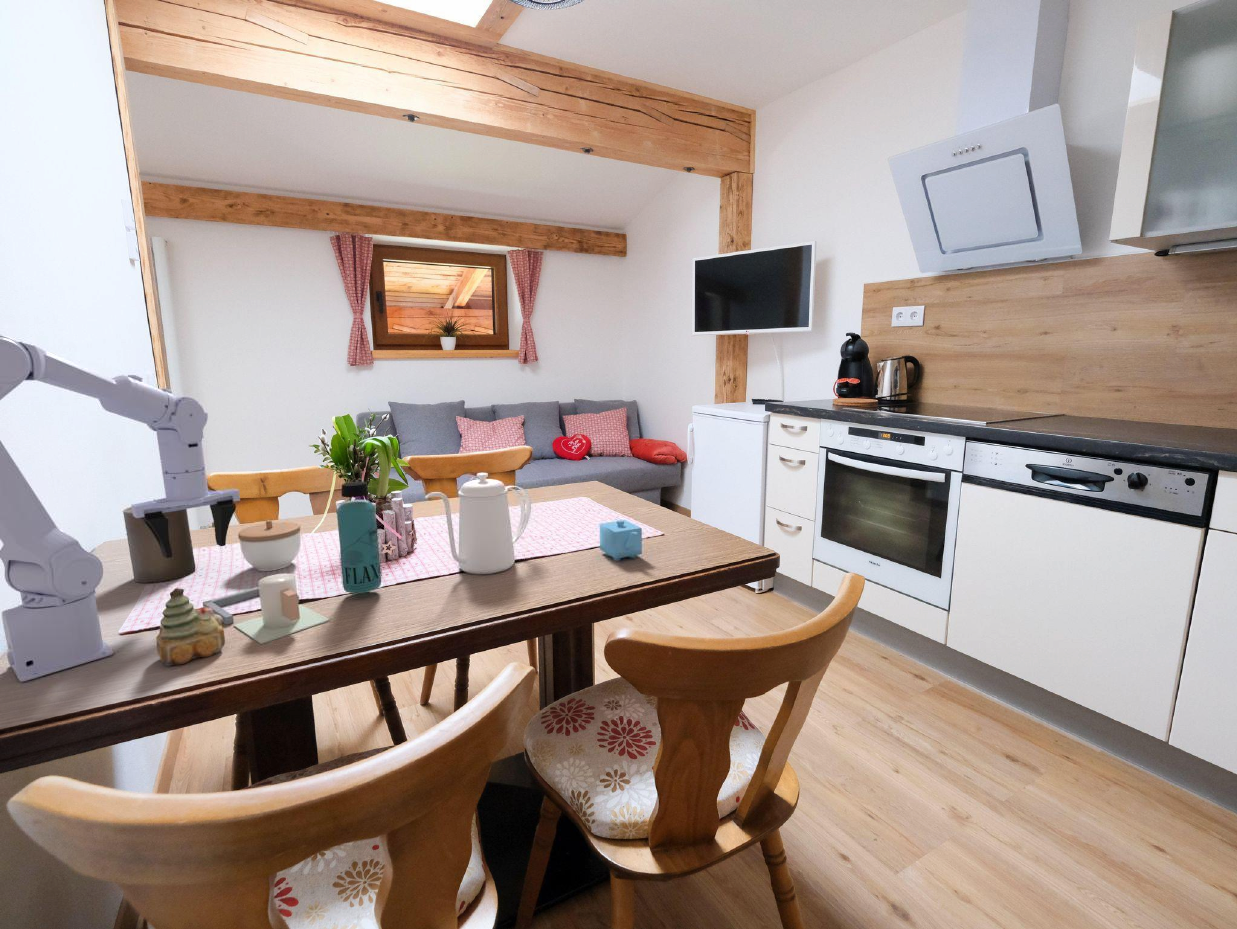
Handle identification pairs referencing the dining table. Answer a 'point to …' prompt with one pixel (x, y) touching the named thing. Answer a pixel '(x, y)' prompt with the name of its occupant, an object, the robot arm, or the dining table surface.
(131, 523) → the pillar candle
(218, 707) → the dining table surface
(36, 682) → the dining table surface
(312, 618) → the pad
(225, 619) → the cradle
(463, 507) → the coffeepot
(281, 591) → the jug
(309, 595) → the dining table surface
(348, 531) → the beverage bottle
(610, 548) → the teapot
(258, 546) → the lidded jar
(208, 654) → the ornament
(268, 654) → the dining table surface
